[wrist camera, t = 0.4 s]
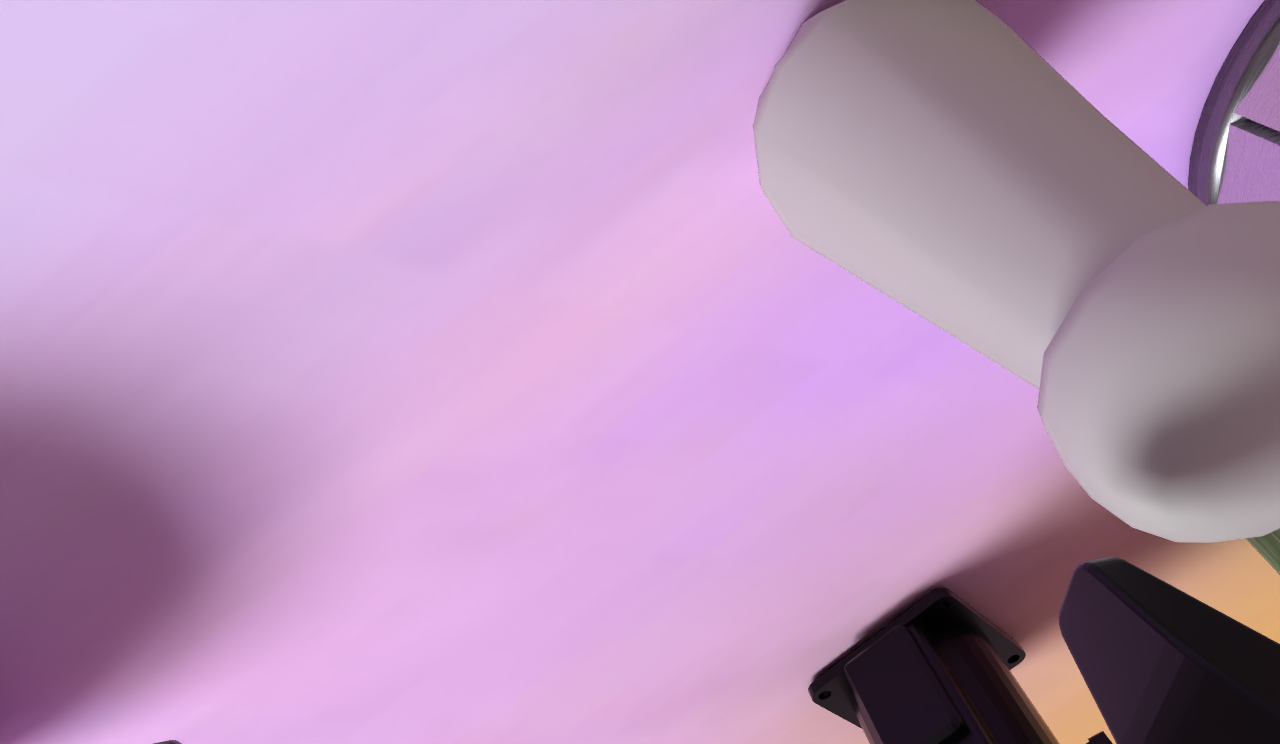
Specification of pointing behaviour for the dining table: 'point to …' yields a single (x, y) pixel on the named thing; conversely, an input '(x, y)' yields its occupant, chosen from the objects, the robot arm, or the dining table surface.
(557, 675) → the dining table surface
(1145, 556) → the dining table surface
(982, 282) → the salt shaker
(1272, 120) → the faceted metal bowl
